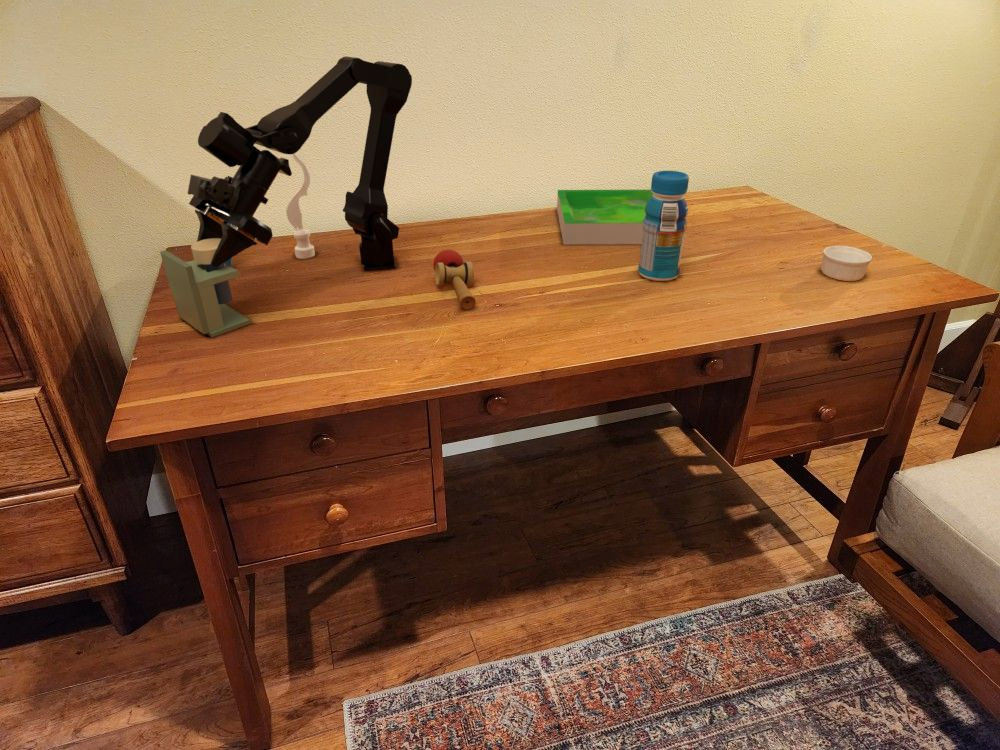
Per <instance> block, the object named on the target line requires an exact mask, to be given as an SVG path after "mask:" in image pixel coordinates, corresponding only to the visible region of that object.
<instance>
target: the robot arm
mask: <svg viewBox="0 0 1000 750" xmlns="http://www.w3.org/2000/svg"><path fill="white" fill-rule="evenodd" d="M358 84H364V85H366V95H367V99H368V103H369V107H370V113H369V119H368V125H367V131H366V132H367V133H366V136H365V144H364V150H363V157H362V162H361V168H360V175H359V181H358V185H357V186H356V187H355V189H354V190H353V192H352V191H348V190H347V191H346V193H345V200H344V201H345V202H344V207H343V208H342V212H344V220H345V222H346V223H347V225H348V226H349V227H350V228H352V230H353V232H354V234H356V235H359V236H360V240H361V241H359V242H358V249H359V250H358V251H359V256H360V264H361V266H363V271H375V270H376V271H378V270H388V269H396V268H397V266H396V259H395V254H394V243H393V241H394V240H396V239H398V238H399V232H400V227H399V226H397V224H395V223H394V222H393V221H391V220H390V219H389V217H388V215H389V205H388V202H387V198H386V194H385V184H386V178H387V172H388V167H389V162H390V161H389V160H390V155H391V150H392V144H393V138H394V132H395V126H396V120H397V116H398V115H399V113H400V112H401V110H402V109H403V107H404V106H405V104H407V102H408V99H409V95H410V93H411V89H412V85H413V75H412V74H411V73H410V71H409V68H408V67H407V66H406V65H404V64H402V63H395V62H389V61H380V60H378V61H374V62H372V61H371V62H370V61H367V60H363V59H362V58H359V57H353V56H342V57H340V58H339V59H338V60H337V62H336V64H335V65H333V66H332V68H331V69H329V70H328V71H327V72H326V73H325V74H324V75H322V76H321V77H320V78H319V79H318V80H317V81H316V82H315V83H314V84H312V85H311V86H310V87H309V88H308V89H307V90H306V91H305V92H303V93H302V94H301V95H300V96H299V97H298V98H297V99H296V100H295V101H293V102H291V103H290V104H287V105H284V106H281V107H278V108H276V109H275V110H273V111H271V112H269V113H268V114H266V115H264V116H263V117H261V118H260V120H259V121H258V122H257V124H254V125H251V126H248V127H243V126H242V125H241V124H240V123H238V121H236V120H235V119H234V117H233V116H232V115H230V114H229V113H228V112H223V111H219V113H218V114H217V116H216V117H215V118H212V119H210V121H209V122H207V124H206V125H204V126H203V127H202V128H201V130H200V132H199V134H198V138H197V143H198V144H197V145H198V146H199V148H202V149H203V150H204V151H206V152H207V153H208V154H210V155H211V156H213V157H214V158H216V159H217V160H219V161H220V162H221V163H222V164H224V165H226V167H229V168H234V167H237V166H238V169H237V170H236V172H235V174H234V175H233V177H232V176H231V175H228V176H225V177H224V178H222V177H217V176H212V178H208V177H203V176H199V175H195V174H190V177H189V183H188V189H187V195H192V198H191V199H190V200H189V202H188V205H190V206H191V207H193V208H195V209H194V213H195V214H196V215H197V216H196V217H197V219H198V221H199V229H198V234H197V239H196V242H198V241H201V240H205V239H212V238H219V239H221V241H220V243H219V245H218V247H217V249H216V252H215V254H214V256H213V259H212V261H211V265H212V266H214V267H218V266H220V265H221V264H223V263H224V262H226V261H227V260H229V259H230V258H232V259H233V257H235V256H237V255H238V254H240V253H242V252H244V251H246V250H247V249H249V248H251V247H253V246H257V245H258V242H259V243H261V244H263V245H265V246H268V245H269V243H270V242H271V240H272V238H273V236H274V235H273V230H272V228H271V227H269V226H268V225H267V224H265V223H264V222H262V221H260V220H258V218H256V217H254V215H255V213H256V212H257V210H258V208H259V207H260V205H261V204H263V205H267V203H268V202H269V199H268V198H267V197H266V194H267V193H268V191H269V190H270V188H271V186H272V185H273V183H274V181H275V179H276V178H277V176H278V174H279V173H280V174H283V175H285V176H288V177H291V176H292V175H293V171H292V169H291V167H290V161H289V159H288V158H285V157H278V156H276V155H275V154H274V153H272V152H271V151H270V150H272V151H274V152H277V153H280V154H284V155H292V154H294V153H297V152H299V151H300V150H301V149H302V148H303V146H304V145H305V143H306V142H307V141H308V139H309V138H310V136H311V133H312V131H313V127H314V126H315V125H316V123H317V122H318V121H319V120H320V119H321V118H322V117H323V116H325V114H326V113H328V112H329V110H331V109H332V108H333V107H334V106H335V105H336V104H337V103H339V101H341V99H343V98H344V97H345V96H347V94H348V93H349V92H351V90H352V89H354V88H355V87H356V86H357V85H358ZM255 145H257V146H260V147H263V148H266V149H262V150H260V149H259V148H258V147H257V146H255ZM227 223H230V224H231V227H230V226H229V225H227ZM255 240H256V241H257V242H256V241H255ZM224 264H225V263H224Z"/></svg>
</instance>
